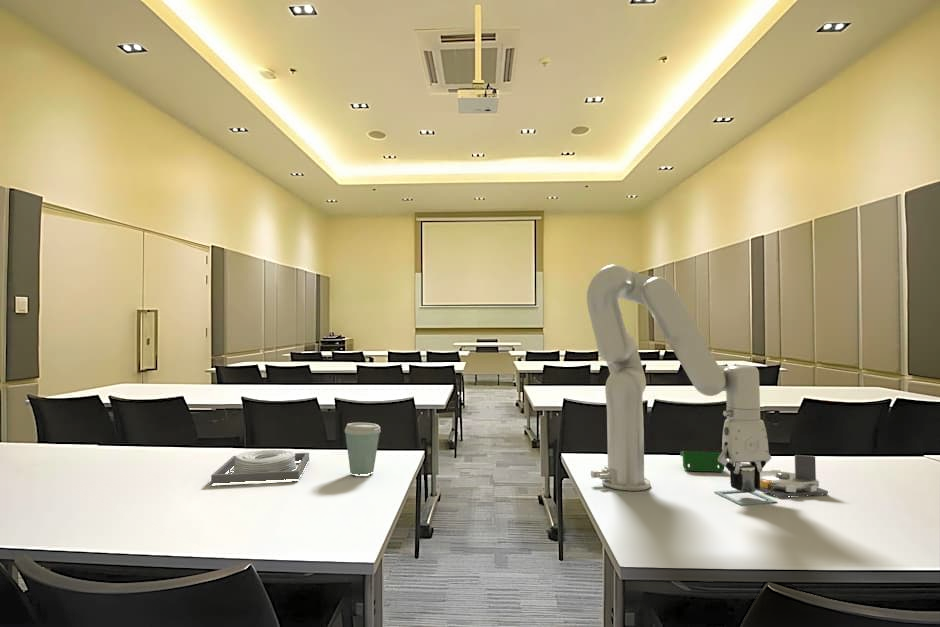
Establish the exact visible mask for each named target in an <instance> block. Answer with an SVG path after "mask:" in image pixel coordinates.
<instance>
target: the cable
mask: <svg viewBox="0 0 940 627" xmlns="http://www.w3.org/2000/svg"><path fill="white" fill-rule="evenodd" d="M295 453H296V452H294V451H290V450H282V449H263V450H254V451H253V450H252V451H244V452H240V453H237V455H235V456H236V458H235V465H234V468H233V469H232V470H231V471H234V473H253V472H273V471H292V470H294V469H296V467H297V463H295ZM229 471H230V470H229ZM231 473H232V472H229V473H228V474H231Z"/></svg>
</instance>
